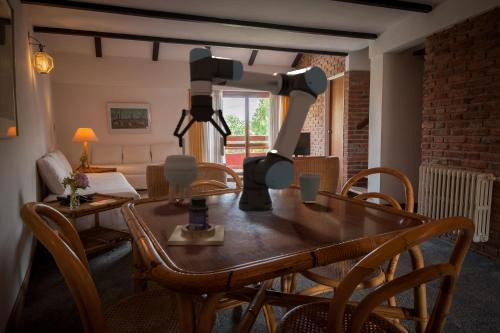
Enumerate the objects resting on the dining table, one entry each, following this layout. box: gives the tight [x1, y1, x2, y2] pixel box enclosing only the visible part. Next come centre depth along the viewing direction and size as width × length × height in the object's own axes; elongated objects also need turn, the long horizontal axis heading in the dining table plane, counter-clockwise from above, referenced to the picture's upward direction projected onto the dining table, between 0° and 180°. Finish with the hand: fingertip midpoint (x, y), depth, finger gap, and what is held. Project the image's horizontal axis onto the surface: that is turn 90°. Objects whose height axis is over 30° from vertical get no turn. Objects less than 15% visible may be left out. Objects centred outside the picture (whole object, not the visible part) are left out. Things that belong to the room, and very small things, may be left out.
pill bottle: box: [188, 196, 210, 231], centre depth 98 cm, size 6×6×11 cm
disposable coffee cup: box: [298, 172, 322, 202], centre depth 152 cm, size 11×11×15 cm
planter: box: [163, 154, 199, 204], centre depth 150 cm, size 16×16×22 cm
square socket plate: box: [167, 222, 226, 246], centre depth 99 cm, size 16×16×3 cm
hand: (203, 156), depth 111 cm, fingers open, 13 cm apart
